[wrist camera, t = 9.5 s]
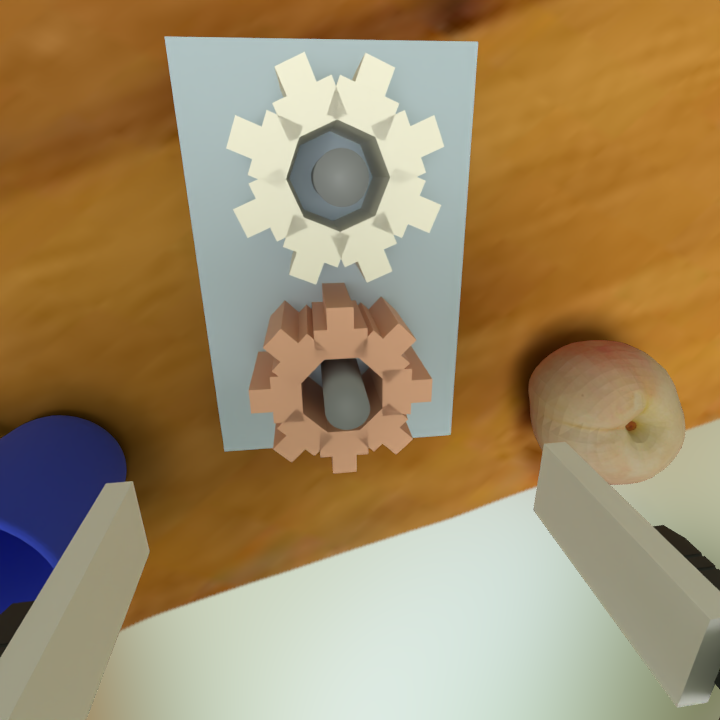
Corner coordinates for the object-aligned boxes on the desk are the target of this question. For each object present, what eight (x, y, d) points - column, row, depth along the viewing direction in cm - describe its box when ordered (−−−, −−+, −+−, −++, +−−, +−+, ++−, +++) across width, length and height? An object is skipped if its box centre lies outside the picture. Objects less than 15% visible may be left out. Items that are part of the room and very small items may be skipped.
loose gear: (251, 286, 24) (239, 312, 20) (411, 279, 25) (436, 303, 20) (266, 428, 27) (258, 479, 23) (407, 418, 28) (428, 465, 24)
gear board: (228, 438, 29) (202, 527, 22) (173, 45, 21) (104, -25, 14) (443, 423, 30) (489, 502, 23) (467, 49, 23) (547, -12, 15)
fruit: (636, 326, 29) (747, 377, 22) (601, 435, 32) (689, 511, 25) (519, 320, 28) (596, 370, 21) (494, 432, 31) (553, 512, 24)
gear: (291, 291, 24) (289, 318, 20) (208, 125, 21) (181, 110, 17) (439, 223, 24) (472, 235, 19) (378, 43, 21) (399, 5, 16)
